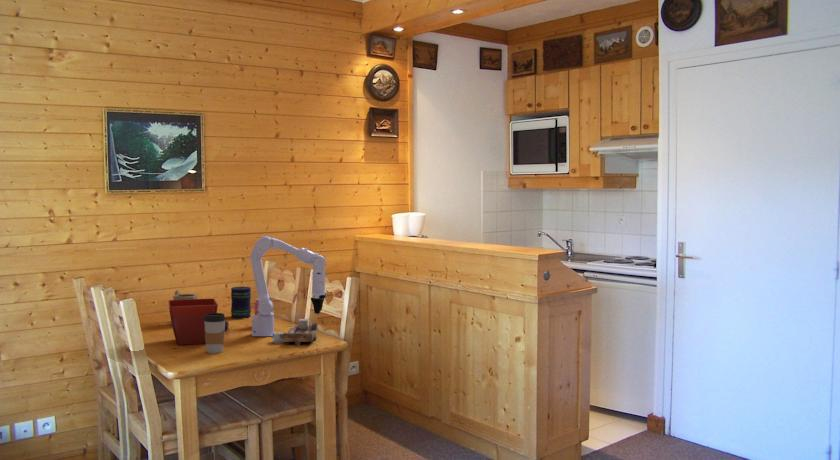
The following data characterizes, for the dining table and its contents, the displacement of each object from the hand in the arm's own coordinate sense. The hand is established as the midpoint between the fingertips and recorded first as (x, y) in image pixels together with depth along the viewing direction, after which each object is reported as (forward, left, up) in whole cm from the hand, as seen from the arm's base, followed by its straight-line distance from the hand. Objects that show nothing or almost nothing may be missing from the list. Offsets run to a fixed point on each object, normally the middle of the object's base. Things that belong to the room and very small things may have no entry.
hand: (318, 312), depth 317 cm
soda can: (-28, +17, -10) cm, 35 cm away
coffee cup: (-37, -37, -10) cm, 53 cm away
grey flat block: (-6, -12, -10) cm, 17 cm away
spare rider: (-15, -18, -10) cm, 25 cm away
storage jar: (-43, +40, -10) cm, 60 cm away
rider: (-6, -4, -7) cm, 10 cm away
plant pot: (-51, -17, -10) cm, 55 cm away
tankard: (-67, +23, -10) cm, 72 cm away
